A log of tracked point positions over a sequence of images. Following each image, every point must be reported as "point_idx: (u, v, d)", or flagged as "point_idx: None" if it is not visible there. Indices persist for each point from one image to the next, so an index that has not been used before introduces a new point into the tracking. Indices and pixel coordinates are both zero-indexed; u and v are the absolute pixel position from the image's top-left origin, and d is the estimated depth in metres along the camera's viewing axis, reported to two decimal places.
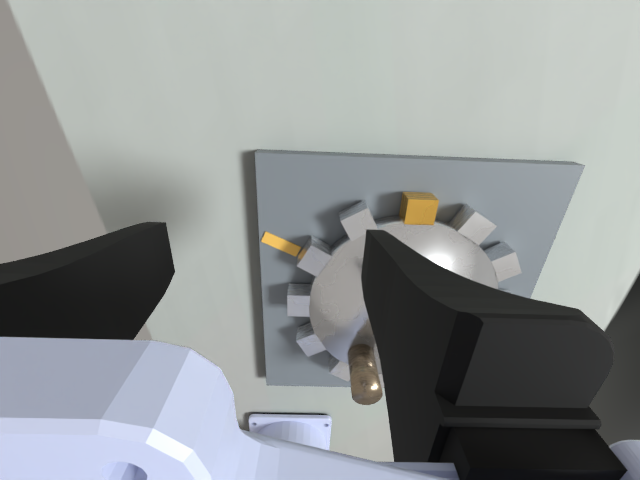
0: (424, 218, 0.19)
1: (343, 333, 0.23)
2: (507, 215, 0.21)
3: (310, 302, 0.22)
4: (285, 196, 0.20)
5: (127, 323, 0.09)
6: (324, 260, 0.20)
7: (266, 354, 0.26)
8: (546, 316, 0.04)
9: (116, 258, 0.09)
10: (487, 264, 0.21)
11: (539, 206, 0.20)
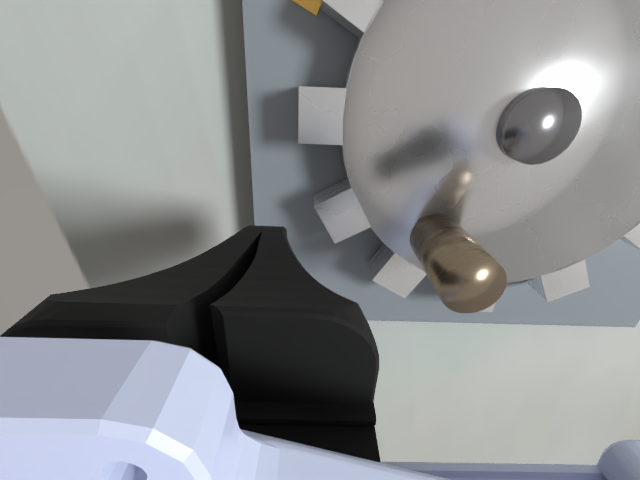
0: None
1: (406, 188, 0.12)
2: None
3: (346, 106, 0.11)
4: None
5: None
6: None
7: None
8: (293, 309, 0.04)
9: (247, 262, 0.09)
10: None
11: None
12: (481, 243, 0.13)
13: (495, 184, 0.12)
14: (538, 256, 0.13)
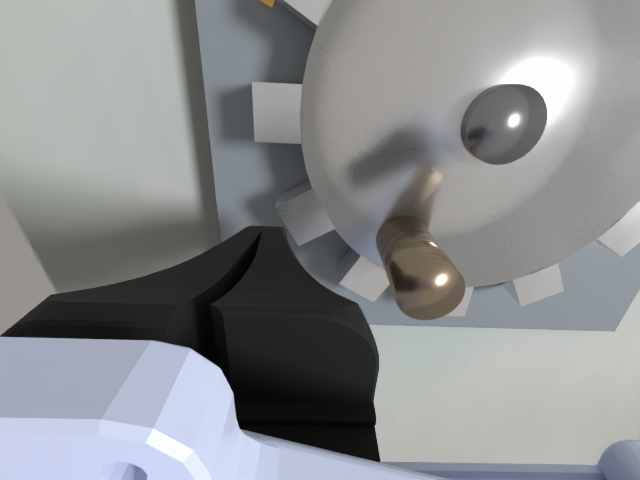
0: None
1: (370, 188, 0.11)
2: None
3: (302, 103, 0.10)
4: None
5: None
6: None
7: None
8: (293, 309, 0.04)
9: (247, 262, 0.09)
10: None
11: None
12: (450, 246, 0.12)
13: (462, 185, 0.11)
14: (509, 259, 0.13)
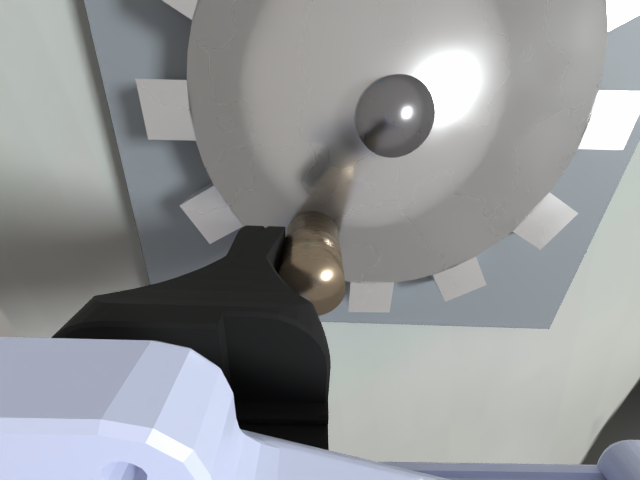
0: None
1: (272, 184, 0.11)
2: None
3: (190, 99, 0.10)
4: None
5: None
6: None
7: (145, 252, 0.14)
8: (240, 308, 0.04)
9: (271, 262, 0.09)
10: None
11: None
12: (363, 241, 0.12)
13: (365, 179, 0.11)
14: (426, 254, 0.13)
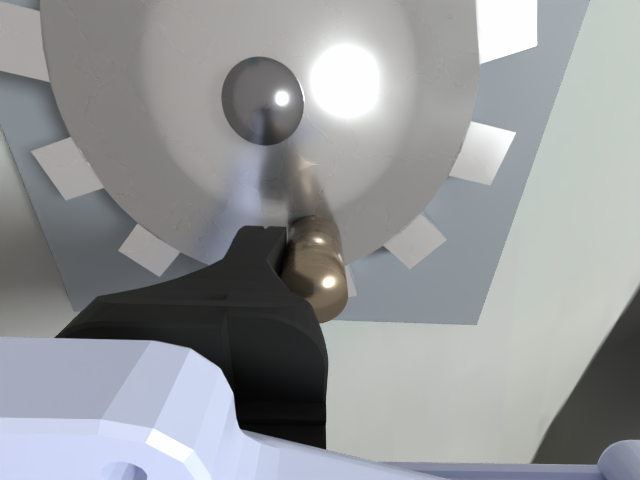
0: None
1: None
2: None
3: (151, 232, 0.12)
4: None
5: None
6: (72, 153, 0.11)
7: (51, 245, 0.14)
8: (237, 308, 0.04)
9: (272, 262, 0.09)
10: None
11: None
12: (356, 207, 0.11)
13: (303, 163, 0.11)
14: (420, 165, 0.11)
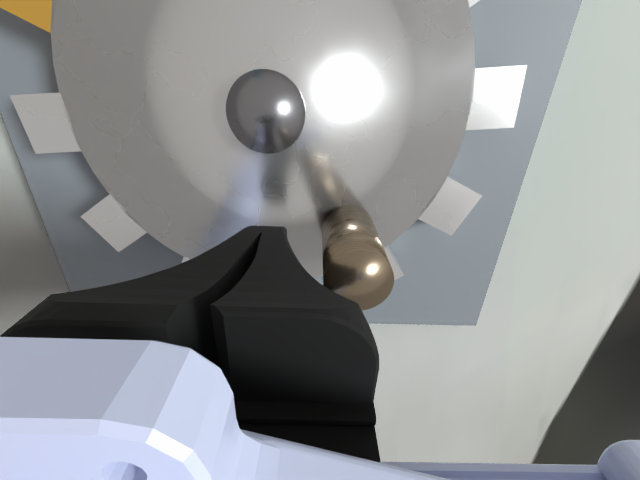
0: None
1: None
2: None
3: None
4: None
5: None
6: (114, 209, 0.12)
7: (57, 252, 0.14)
8: (293, 309, 0.04)
9: (247, 262, 0.09)
10: None
11: None
12: (380, 188, 0.11)
13: (317, 159, 0.11)
14: (434, 128, 0.10)
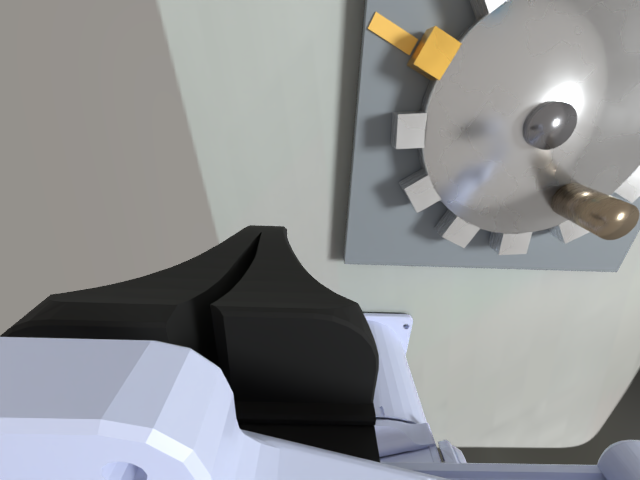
0: (446, 52, 0.16)
1: (526, 205, 0.19)
2: None
3: (464, 219, 0.20)
4: None
5: None
6: (427, 184, 0.19)
7: (350, 216, 0.21)
8: (293, 309, 0.04)
9: (247, 262, 0.09)
10: None
11: None
12: (597, 171, 0.18)
13: (564, 153, 0.18)
14: None
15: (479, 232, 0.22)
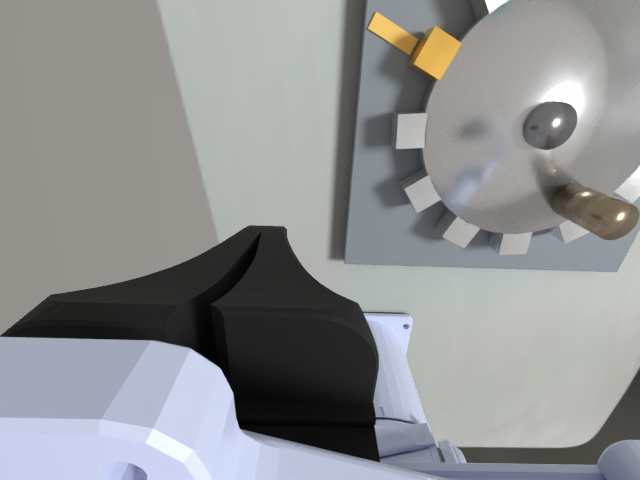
0: (447, 52, 0.16)
1: (526, 205, 0.19)
2: None
3: (464, 219, 0.20)
4: None
5: None
6: (427, 184, 0.19)
7: (350, 216, 0.21)
8: (293, 309, 0.04)
9: (247, 262, 0.09)
10: None
11: None
12: (597, 171, 0.18)
13: (564, 153, 0.18)
14: None
15: (479, 232, 0.22)
